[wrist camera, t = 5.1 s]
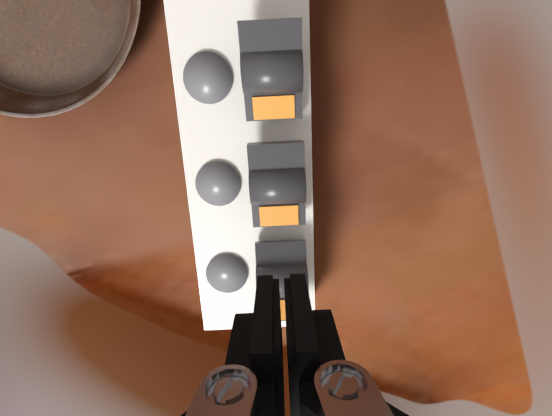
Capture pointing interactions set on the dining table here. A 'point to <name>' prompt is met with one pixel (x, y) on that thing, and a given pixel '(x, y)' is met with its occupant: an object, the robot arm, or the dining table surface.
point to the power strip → (229, 147)
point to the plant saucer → (61, 52)
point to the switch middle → (277, 183)
